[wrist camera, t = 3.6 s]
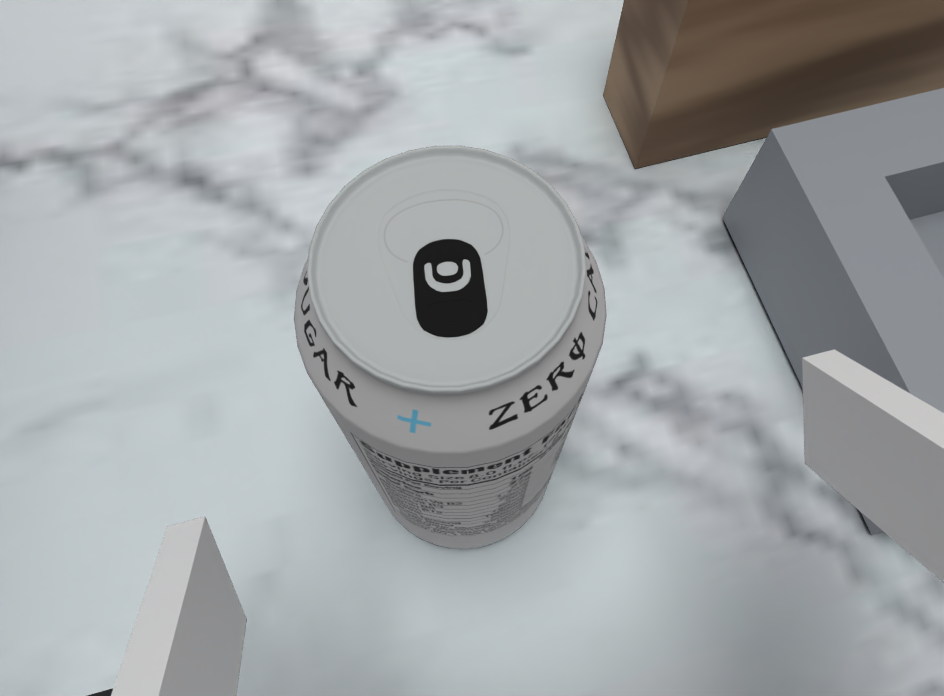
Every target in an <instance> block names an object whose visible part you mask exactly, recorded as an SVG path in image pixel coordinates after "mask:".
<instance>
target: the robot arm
mask: <svg viewBox="0 0 944 696" xmlns="http://www.w3.org/2000/svg"><path fill="white" fill-rule="evenodd" d="M802 374H803V414H804V455H805V464H806V465H807V466H808V467H809V468H810V469H812V470H813V471H814V472H815V473H816V474H817V475H819V476H820V477H821V478H822V479H823V480H824V481H825V482H827V483H828V484H829V485H830V486H831V487H832V488H834V489H835V490H836V491H837V492H838V493H839V494H841V495H842V496H843V497H844V498H845V499H846V500H848V501H849V502H850V503H851V504H852V505H853V506H855V507H856V508H857V509H858V510H859V511H860V512H862V513H863V514H864V515H865V516H866V517H867V518H869V519H870V520H871V521H872V522H873V523H874V524H876V525H877V526H878V527H879V528H880V529H881V530H883V531H884V532H885V533H886V534H887V535H888V536H890V537H891V538H892V539H893V540H894V541H895V542H896V543H898V544H899V545H900V546H901V547H902V548H903V549H905V550H906V551H907V552H908V553H909V554H910V555H912V556H913V557H914V558H915V559H916V560H917V561H919V562H920V563H921V564H922V565H923V566H924V567H926V568H927V569H928V570H929V571H930V572H931V573H933V574H934V575H935V576H936V577H937V578H938V579H940V580H941V581H942V582H943V583H944V413H943V412H941V411H939V410H937V409H936V408H934V407H932V406H931V405H929V404H927V403H925V402H924V401H922V400H920V399H919V398H917V397H915V396H913V395H912V394H910V393H908V392H907V391H905V390H903V389H901V388H900V387H898V386H896V385H895V384H893V383H891V382H889V381H888V380H886V379H884V378H883V377H881V376H879V375H877V374H876V373H874V372H872V371H871V370H869V369H867V368H865V367H864V366H862V365H860V364H859V363H857V362H855V361H853V360H852V359H850V358H848V357H847V356H845V355H843V354H841V353H840V352H838V351H836V350H835V349H834V350H830V351H826V352H822V353H818V354H815V355H811V356H807V357H803V358H802ZM246 622H247V619H246V616H245V614H244V611H243V609H242V606H241V604H240V601H239V599H238V596H237V594H236V591H235V589H234V586H233V584H232V581H231V579H230V576H229V574H228V571H227V569H226V566H225V564H224V562H223V559H222V557H221V554H220V552H219V549H218V547H217V544H216V542H215V539H214V537H213V534H212V532H211V529H210V527H209V524H208V522H207V519H206V517H205V516H204V517H201V518H197V519H193V520H189V521H185V522H182V523H178V524H174V525H170V526H167V529H166V532H165V535H164V538H163V541H162V544H161V547H160V550H159V553H158V556H157V559H156V562H155V565H154V568H153V571H152V574H151V577H150V580H149V583H148V586H147V589H146V592H145V595H144V598H143V601H142V604H141V607H140V610H139V613H138V616H137V619H136V622H135V625H134V628H133V631H132V634H131V637H130V640H129V643H128V646H127V649H126V652H125V655H124V658H123V661H122V664H121V667H120V670H119V673H118V676H117V679H116V682H115V685H114V688H113V689H109V690H106V691H102V692H98V693H95V694H91V695H88V696H236V694H237V686H238V679H239V672H240V665H241V658H242V651H243V643H244V636H245V629H246Z"/></svg>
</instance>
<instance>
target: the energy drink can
mask: <svg viewBox="0 0 944 696" xmlns="http://www.w3.org/2000/svg"><path fill="white" fill-rule="evenodd" d="M294 322H295V330H296V338H297V346H298V349H299V352H300V354H301V357H302V360H303V363H304V366H305V368H306V371H307V374H308V375H309V377H310V379H311V380H312V382H313V384H314V385H315V387H316V389H317V390H318V392H319V394H320V395H321V397H322V399H323V400H324V402H325V404H326V405H327V407H328V409H329V410H330V412H331V414H332V415H333V417H334V419H335V420H336V422H337V424H338V425H339V427H340V429H341V430H342V432H343V434H344V435H345V437H346V439H347V440H348V442H349V444H350V445H351V447H352V449H353V450H354V452H355V454H356V455H357V457H358V459H359V460H360V462H361V464H362V465H363V467H364V469H365V470H366V472H367V474H368V475H369V477H370V479H371V480H372V482H373V484H374V485H375V487H376V489H377V490H378V492H379V494H380V495H381V497H382V499H383V500H384V502H385V504H386V505H387V507H388V508H389V510H390V511H391V513H392V515H393V516H394V517H395V518H396V519H397V520H398V521H399V522H400V523H401V524H402V525H403V526H404V527H405V528H406V529H407V530H409V531H410V532H411V533H413V534H414V535H416V536H417V537H419V538H420V539H423V540H425V541H428V542H430V543H432V544H435V545H438V546H443V547H448V548H453V549H472V548H477V547H481V546H486V545H490V544H492V543H495V542H497V541H499V540H502V539H504V538H506V537H508V536H509V535H510V534H512V533H513V532H515V531H516V530H518V529H519V528H520V527H521V526H522V525H523V524H524V523H525V522H526V521H527V520H528V519H529V518H530V517H531V516H532V515H533V513H534V512H535V510H536V508H537V507H538V505H539V504H540V502H541V500H542V498H543V496H544V493H545V490H546V488H547V485H548V483H549V480H550V478H551V475H552V473H553V470H554V468H555V465H556V462H557V460H558V457H559V455H560V452H561V450H562V447H563V445H564V442H565V439H566V437H567V434H568V432H569V429H570V427H571V424H572V422H573V419H574V417H575V414H576V411H577V409H578V406H579V404H580V401H581V399H582V396H583V394H584V391H585V389H586V386H587V383H588V381H589V378H590V376H591V373H592V371H593V368H594V365H595V363H596V360H597V357H598V355H599V352H600V349H601V346H602V344H603V337H604V330H605V322H606V304H605V291H604V286H603V282H602V279H601V276H600V272H599V269H598V266H597V263H596V260H595V259H594V257H593V255H592V253H591V251H590V250H589V248H588V246H587V244H586V242H585V240H584V239H583V237H582V236H581V233H580V230H579V226H578V224H577V222H576V220H575V218H574V216H573V215H572V213H571V211H570V209H569V207H568V205H567V204H566V202H565V201H564V200H563V199H562V198H561V196H560V195H559V194H558V193H557V192H556V191H555V189H554V188H553V187H552V186H551V185H550V184H549V183H548V182H546V181H545V180H544V179H543V178H541V177H540V176H539V175H538V174H536V173H535V172H534V171H533V170H531V169H530V168H528V167H526V166H524V165H522V164H520V163H519V162H517V161H515V160H513V159H511V158H509V157H506V156H503V155H500V154H497V153H494V152H491V151H488V150H485V149H478V148H472V147H465V146H432V147H426V148H420V149H415V150H409V151H406V152H404V153H401V154H398V155H395V156H392V157H389V158H386V159H384V160H382V161H381V162H379V163H377V164H375V165H373V166H372V167H370V168H368V169H366V170H364V171H363V172H362V173H360V174H359V175H358V176H357V177H355V178H354V179H353V180H352V181H351V182H349V183H348V184H347V185H346V186H344V187H343V189H342V190H341V191H340V192H339V193H338V195H337V196H336V197H335V198H334V199H333V200H332V202H331V203H330V204H329V205H328V207H327V208H326V210H325V212H324V214H323V216H322V217H321V219H320V221H319V223H318V225H317V226H316V229H315V232H314V236H313V239H312V242H311V245H310V248H309V256H308V259H307V261H306V263H305V265H304V268H303V272H302V275H301V278H300V281H299V284H298V288H297V291H296V302H295V313H294Z"/></svg>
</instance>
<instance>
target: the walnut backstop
mask: <svg viewBox="0 0 944 696" xmlns="http://www.w3.org/2000/svg"><path fill="white" fill-rule="evenodd" d="M941 88H944V0H624V3H623V8H622V12H621V17H620V21H619V26H618V31H617V35H616V40H615V44H614V49H613V53H612V58H611V62H610V67H609V71H608V76H607V81H606V85H605V90H604V94H603V96H604V98H605V101H606V103H607V105H608V108H609V110H610V112H611V115H612V117H613V119H614V122H615V124H616V126H617V129H618V131H619V133H620V136H621V138H622V140H623V143H624V145H625V147H626V150H627V152H628V154H629V157H630V159H631V161H632V164H633V166H634V168H635V169H636V168H640V167H645V166H649V165H653V164H657V163H661V162H665V161H670V160H674V159H678V158H682V157H686V156H690V155H695V154H699V153H703V152H707V151H711V150H715V149H720V148H724V147H728V146H732V145H736V144H740V143H744V142H749V141H753V140H757V139H761V138H765V137H767V136H768V134H769V133H770V131H771V129H774V128H778V127H783V126H787V125H791V124H795V123H799V122H803V121H808V120H812V119H816V118H820V117H824V116H828V115H833V114H837V113H841V112H845V111H849V110H853V109H858V108H862V107H866V106H870V105H874V104H879V103H883V102H887V101H891V100H895V99H899V98H904V97H908V96H912V95H916V94H920V93H924V92H929V91H933V90H937V89H941Z"/></svg>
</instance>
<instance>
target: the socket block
mask: <svg viewBox="0 0 944 696" xmlns="http://www.w3.org/2000/svg"><path fill="white" fill-rule="evenodd" d="M723 220H724V222H725V224H726V226H727V228H728V230H729V232H730V235H731V237H732V239H733V241H734V243H735V245H736V247H737V249H738V252H739V254H740V256H741V258H742V260H743V262H744V264H745V266H746V269H747V271H748V273H749V275H750V277H751V279H752V281H753V283H754V286H755V288H756V290H757V292H758V294H759V296H760V298H761V301H762V303H763V305H764V307H765V309H766V311H767V313H768V315H769V318H770V320H771V322H772V324H773V326H774V328H775V330H776V332H777V335H778V337H779V339H780V341H781V343H782V345H783V347H784V350H785V352H786V354H787V356H788V358H789V360H790V362H791V364H792V367H793V369H794V371H795V373H796V375H797V377H798V379H799V381H800V384H801V386H802V388H803V374H802V358H803V357H807V356H811V355H815V354H818V353H822V352H826V351H830V350H834V349H835V350H836V351H838V352H840V353H841V354H843V355H845V356H847V357H848V358H850V359H852V360H853V361H855V362H857V363H859V364H860V365H862V366H864V367H865V368H867V369H869V370H871V371H872V372H874V373H876V374H877V375H879V376H881V377H883V378H884V379H886V380H888V381H889V382H891V383H893V384H895V385H896V386H898V387H900V388H901V389H903V390H905V391H907V392H908V393H910V394H912V395H913V396H915V397H917V398H919V399H920V400H922V401H924V402H925V403H927V404H929V405H931V406H932V407H934V408H936V409H937V410H939V411H941V412H943V413H944V88H941V89H937V90H933V91H929V92H924V93H920V94H916V95H912V96H908V97H904V98H899V99H895V100H891V101H887V102H883V103H879V104H874V105H870V106H866V107H862V108H858V109H853V110H849V111H845V112H841V113H837V114H833V115H828V116H824V117H820V118H816V119H812V120H808V121H803V122H799V123H795V124H791V125H787V126H783V127H778V128H774V129H771V131H770V133H769V134H768V136H767V138H766V140H765V142H764V144H763V145H762V147H761V149H760V151H759V153H758V154H757V156H756V158H755V160H754V162H753V164H752V165H751V167H750V169H749V171H748V173H747V174H746V176H745V178H744V180H743V182H742V183H741V185H740V187H739V189H738V191H737V193H736V194H735V196H734V198H733V200H732V202H731V203H730V205H729V207H728V209H727V211H726V213H725V214H724V216H723ZM861 514H862V516H863V518H864V520H865V522H866V524H867V526H868V528H869V531H870V533H871V535H872V534H876V533H879V532H882V531H883V530H881V529H880V528H879V527H878V526H877V525H876V524H874V523H873V522H872V521H871V520H870V519H869V518H867V517H866V516H865V515H864V514H863V513H862V512H861Z"/></svg>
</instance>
